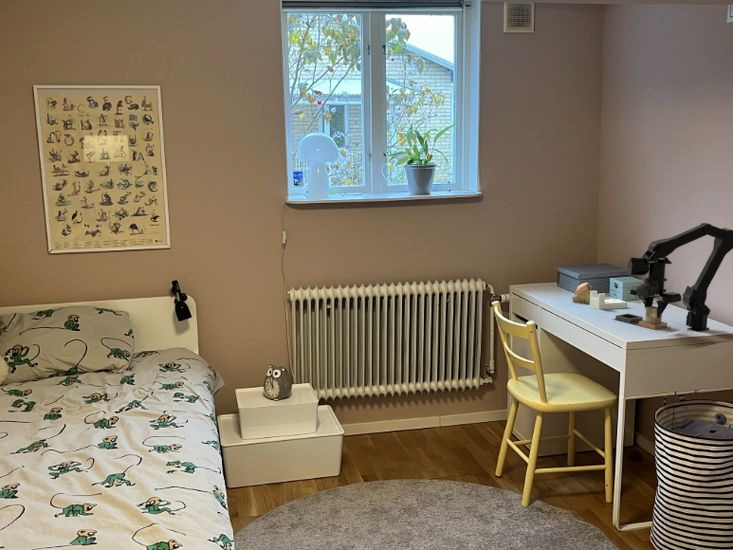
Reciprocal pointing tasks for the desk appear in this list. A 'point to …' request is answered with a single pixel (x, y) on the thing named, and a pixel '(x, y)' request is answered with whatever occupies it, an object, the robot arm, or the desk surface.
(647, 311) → the wooden block
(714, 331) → the desk surface
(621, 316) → the base plate
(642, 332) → the desk surface
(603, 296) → the bracket
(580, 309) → the desk surface
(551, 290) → the desk surface
